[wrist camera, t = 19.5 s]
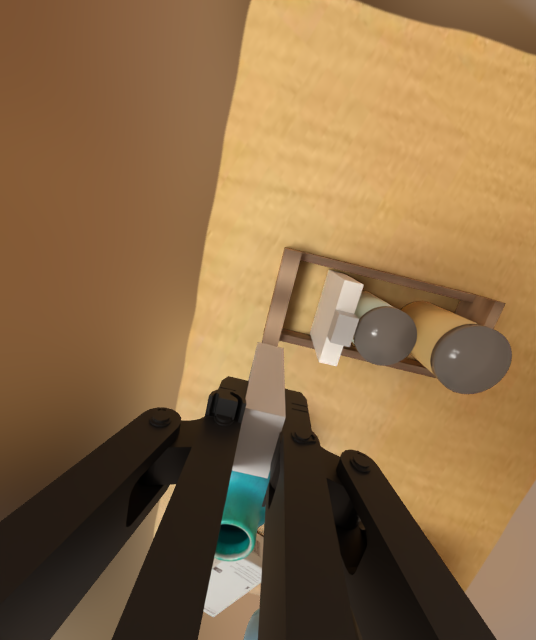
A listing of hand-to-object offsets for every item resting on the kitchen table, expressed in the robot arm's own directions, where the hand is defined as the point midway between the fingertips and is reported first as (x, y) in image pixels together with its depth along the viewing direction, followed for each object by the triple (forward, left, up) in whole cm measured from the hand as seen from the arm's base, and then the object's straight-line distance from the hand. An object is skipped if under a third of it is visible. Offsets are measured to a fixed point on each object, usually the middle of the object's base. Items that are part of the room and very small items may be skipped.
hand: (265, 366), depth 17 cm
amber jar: (0, -21, -24) cm, 32 cm away
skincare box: (-42, -7, -22) cm, 48 cm away
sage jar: (0, -12, -24) cm, 27 cm away
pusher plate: (0, -7, -24) cm, 25 cm away
